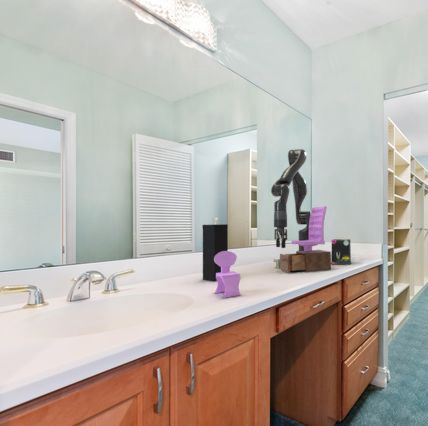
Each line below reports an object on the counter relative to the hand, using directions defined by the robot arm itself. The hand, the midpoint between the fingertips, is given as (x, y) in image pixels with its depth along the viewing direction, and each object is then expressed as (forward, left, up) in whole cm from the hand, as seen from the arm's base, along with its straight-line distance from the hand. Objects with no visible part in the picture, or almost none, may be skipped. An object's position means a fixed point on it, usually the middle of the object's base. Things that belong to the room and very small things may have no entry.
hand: (280, 247), depth 158 cm
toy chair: (+48, -38, -12) cm, 62 cm away
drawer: (+15, +1, -10) cm, 18 cm away
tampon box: (+4, +38, -12) cm, 40 cm away
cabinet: (+15, +13, -11) cm, 23 cm away
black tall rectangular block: (+17, -38, -12) cm, 43 cm away
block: (0, 0, -11) cm, 11 cm away
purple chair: (-3, +20, -12) cm, 23 cm away
